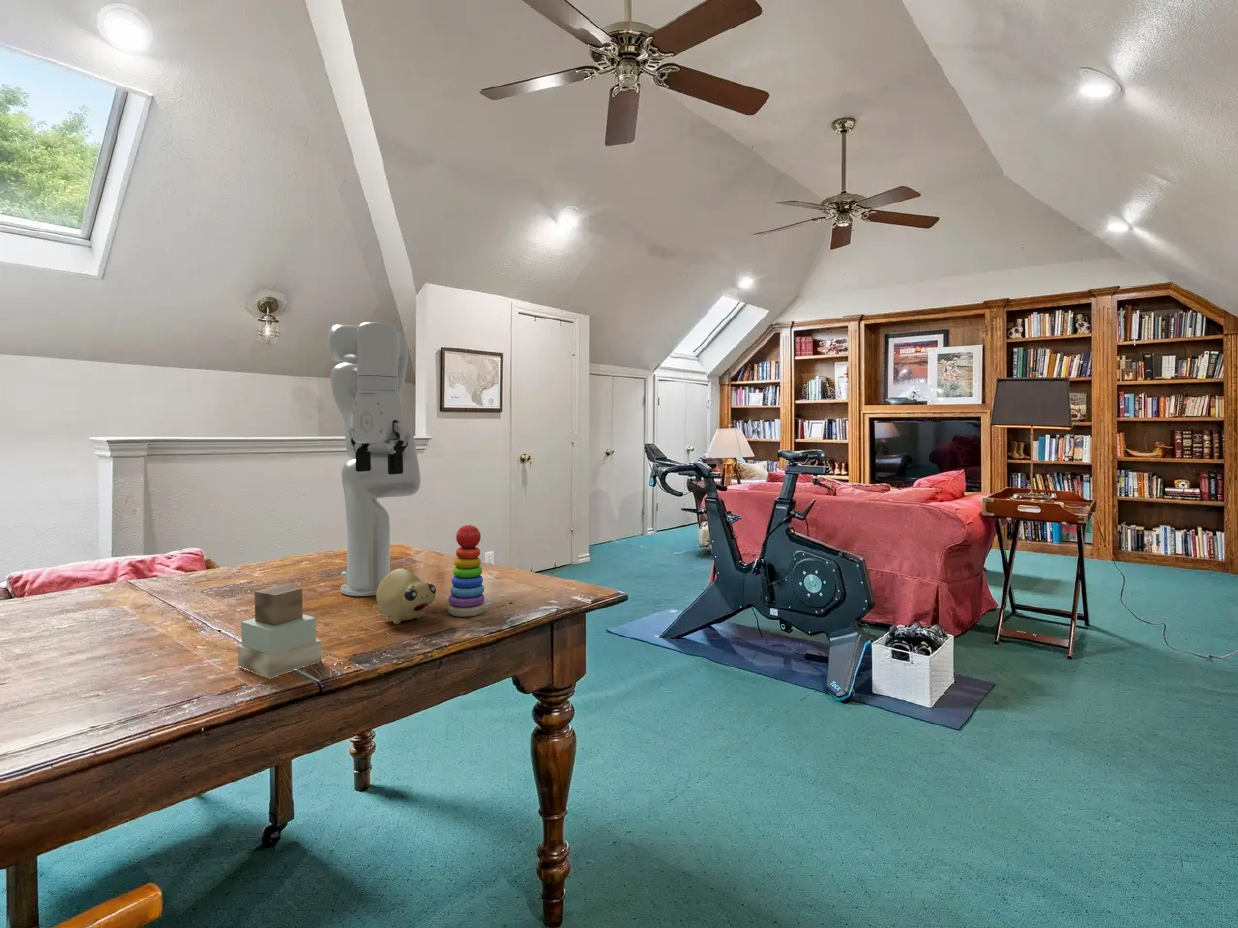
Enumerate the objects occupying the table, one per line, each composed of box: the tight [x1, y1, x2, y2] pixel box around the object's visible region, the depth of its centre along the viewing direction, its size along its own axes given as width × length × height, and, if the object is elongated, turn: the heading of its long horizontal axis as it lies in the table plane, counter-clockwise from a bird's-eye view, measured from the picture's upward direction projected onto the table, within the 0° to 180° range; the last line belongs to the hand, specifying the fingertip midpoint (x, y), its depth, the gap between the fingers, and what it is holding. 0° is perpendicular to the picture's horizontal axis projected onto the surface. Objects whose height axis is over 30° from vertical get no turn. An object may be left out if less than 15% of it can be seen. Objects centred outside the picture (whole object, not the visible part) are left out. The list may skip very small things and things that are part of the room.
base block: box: [237, 638, 323, 678], centre depth 109 cm, size 9×9×4 cm
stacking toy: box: [447, 524, 487, 618], centre depth 138 cm, size 8×8×19 cm
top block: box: [240, 613, 317, 655], centre depth 108 cm, size 8×8×4 cm
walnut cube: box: [254, 584, 304, 626], centre depth 108 cm, size 5×5×5 cm
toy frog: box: [375, 567, 437, 625], centre depth 132 cm, size 10×12×11 cm
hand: (379, 472), depth 130 cm, fingers open, 9 cm apart
